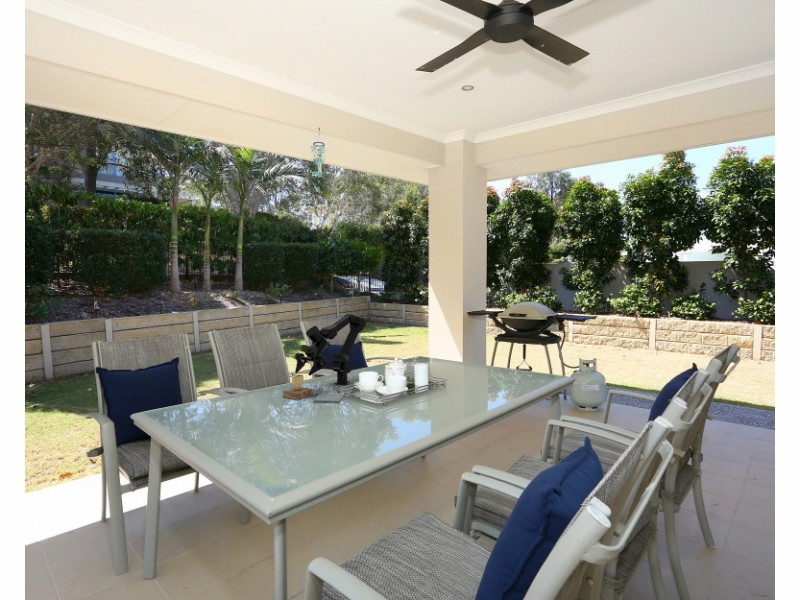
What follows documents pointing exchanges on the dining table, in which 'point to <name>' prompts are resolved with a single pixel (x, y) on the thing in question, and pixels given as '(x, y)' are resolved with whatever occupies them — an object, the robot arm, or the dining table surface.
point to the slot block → (298, 393)
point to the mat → (328, 398)
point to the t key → (297, 382)
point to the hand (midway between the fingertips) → (302, 374)
